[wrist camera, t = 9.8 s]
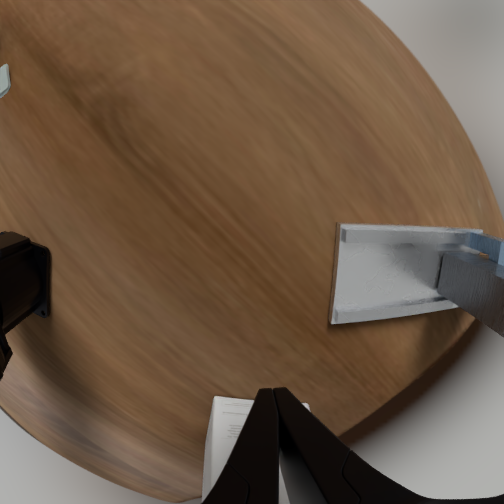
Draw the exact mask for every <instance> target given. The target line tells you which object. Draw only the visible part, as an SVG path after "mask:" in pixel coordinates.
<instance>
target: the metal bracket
mask: <svg viewBox="0 0 504 504" xmlns="http://www.w3.org/2000/svg"><path fill="white" fill-rule="evenodd" d="M10 86H11V84H10V77H9V69H8V64H5V65H3V66H2V67H1V68H0V98H1V97H2V96H3V95H5V94H6V93H7V92H8V91H9V89H10Z"/></svg>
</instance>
